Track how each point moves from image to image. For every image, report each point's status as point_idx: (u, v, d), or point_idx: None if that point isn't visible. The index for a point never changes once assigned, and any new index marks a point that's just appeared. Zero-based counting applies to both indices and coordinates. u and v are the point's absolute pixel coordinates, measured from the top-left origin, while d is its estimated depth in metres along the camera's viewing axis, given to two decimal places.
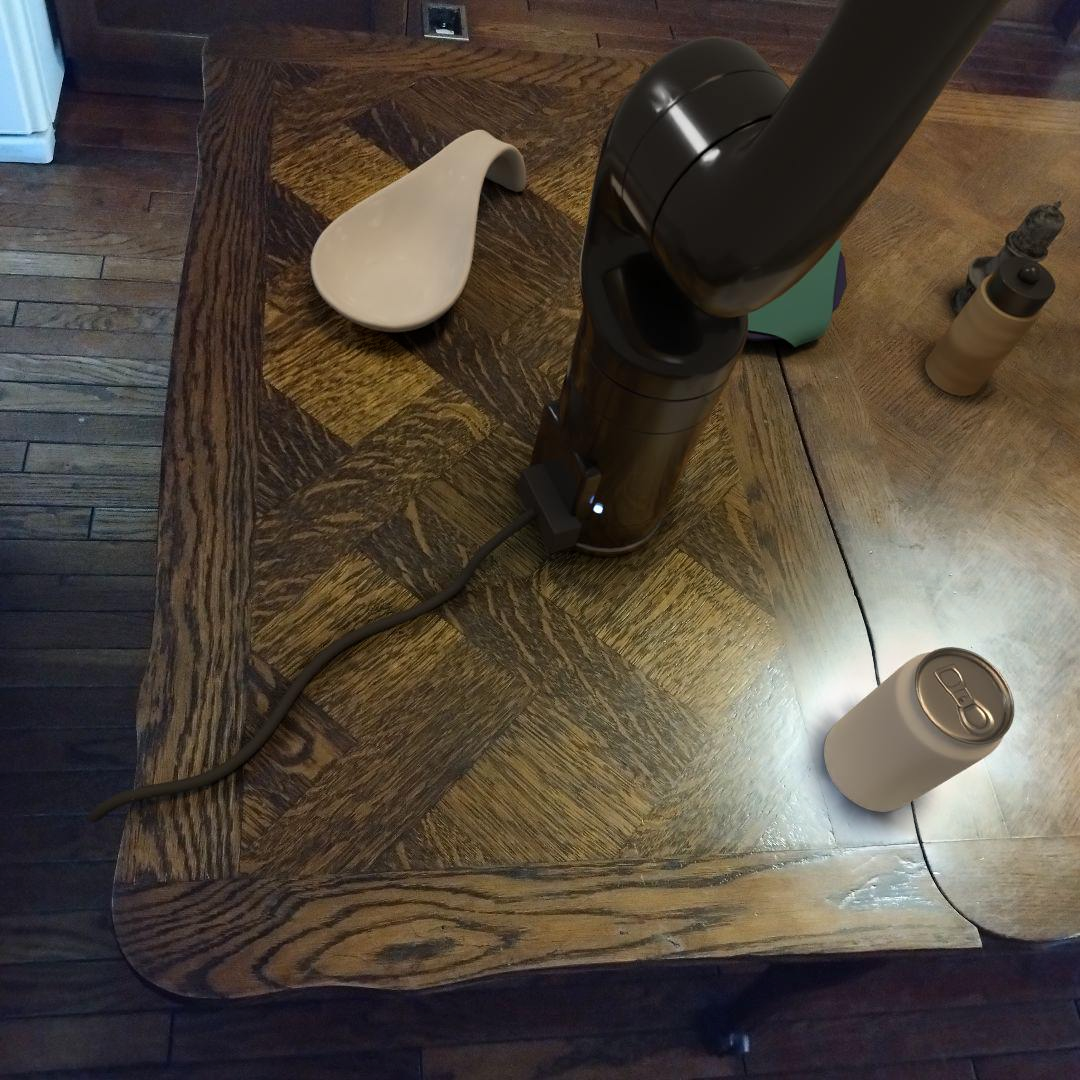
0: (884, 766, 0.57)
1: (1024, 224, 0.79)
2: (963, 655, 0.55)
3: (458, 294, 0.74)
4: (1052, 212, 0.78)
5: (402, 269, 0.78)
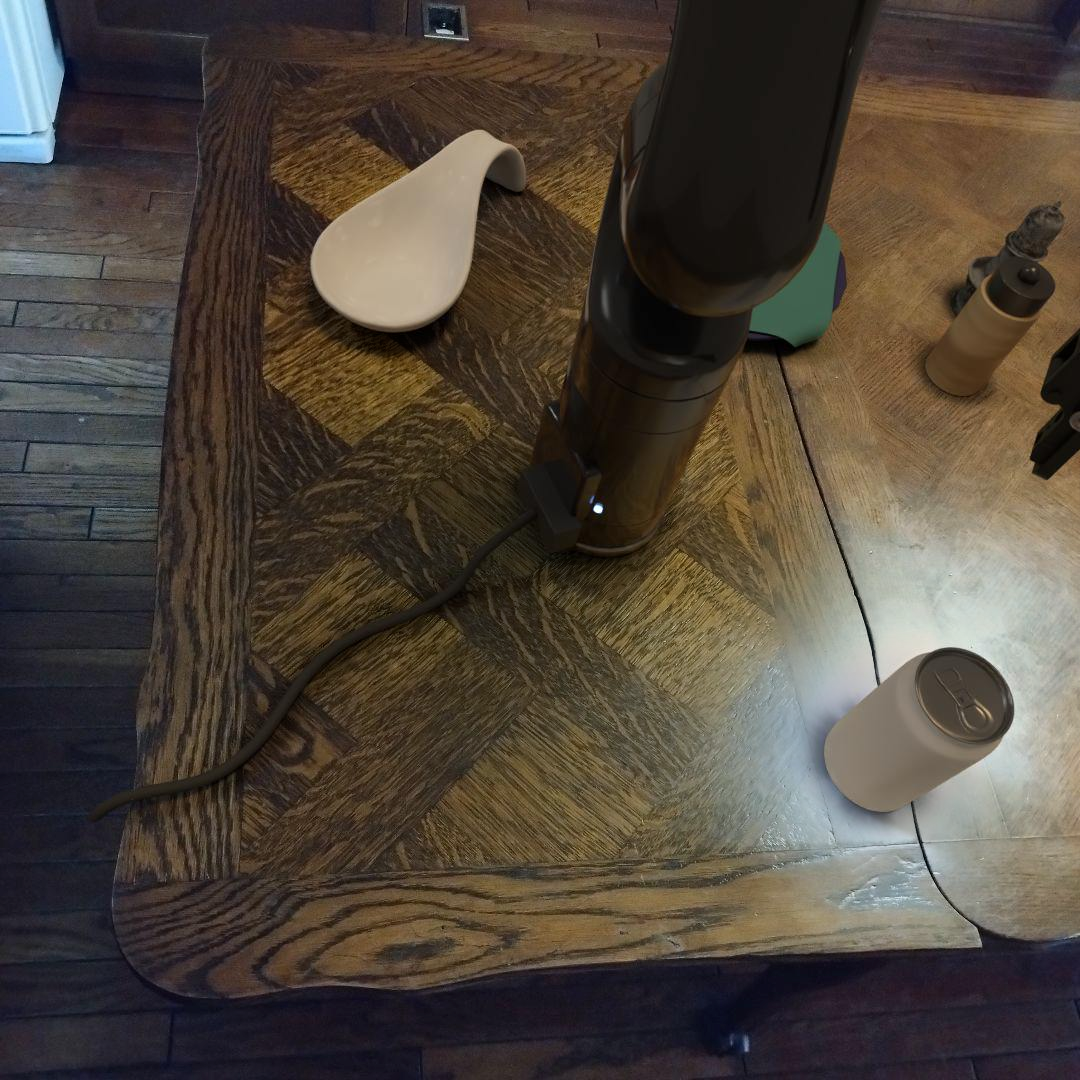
0: (884, 766, 0.57)
1: (1024, 224, 0.79)
2: (963, 655, 0.55)
3: (458, 294, 0.74)
4: (1052, 212, 0.78)
5: (402, 269, 0.78)
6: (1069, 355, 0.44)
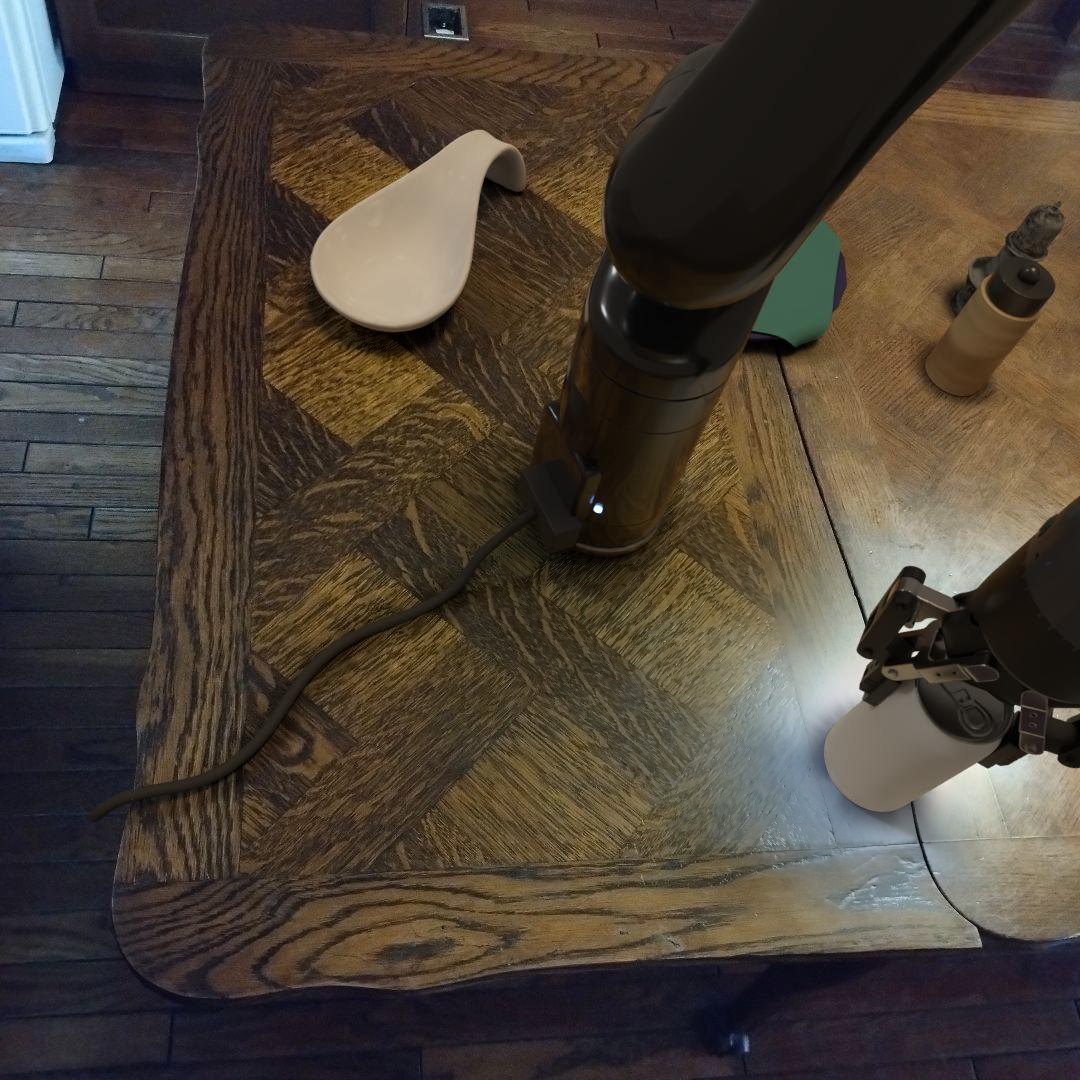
0: (884, 766, 0.57)
1: (1024, 224, 0.79)
2: None
3: (458, 294, 0.74)
4: (1052, 212, 0.78)
5: (402, 269, 0.78)
6: None
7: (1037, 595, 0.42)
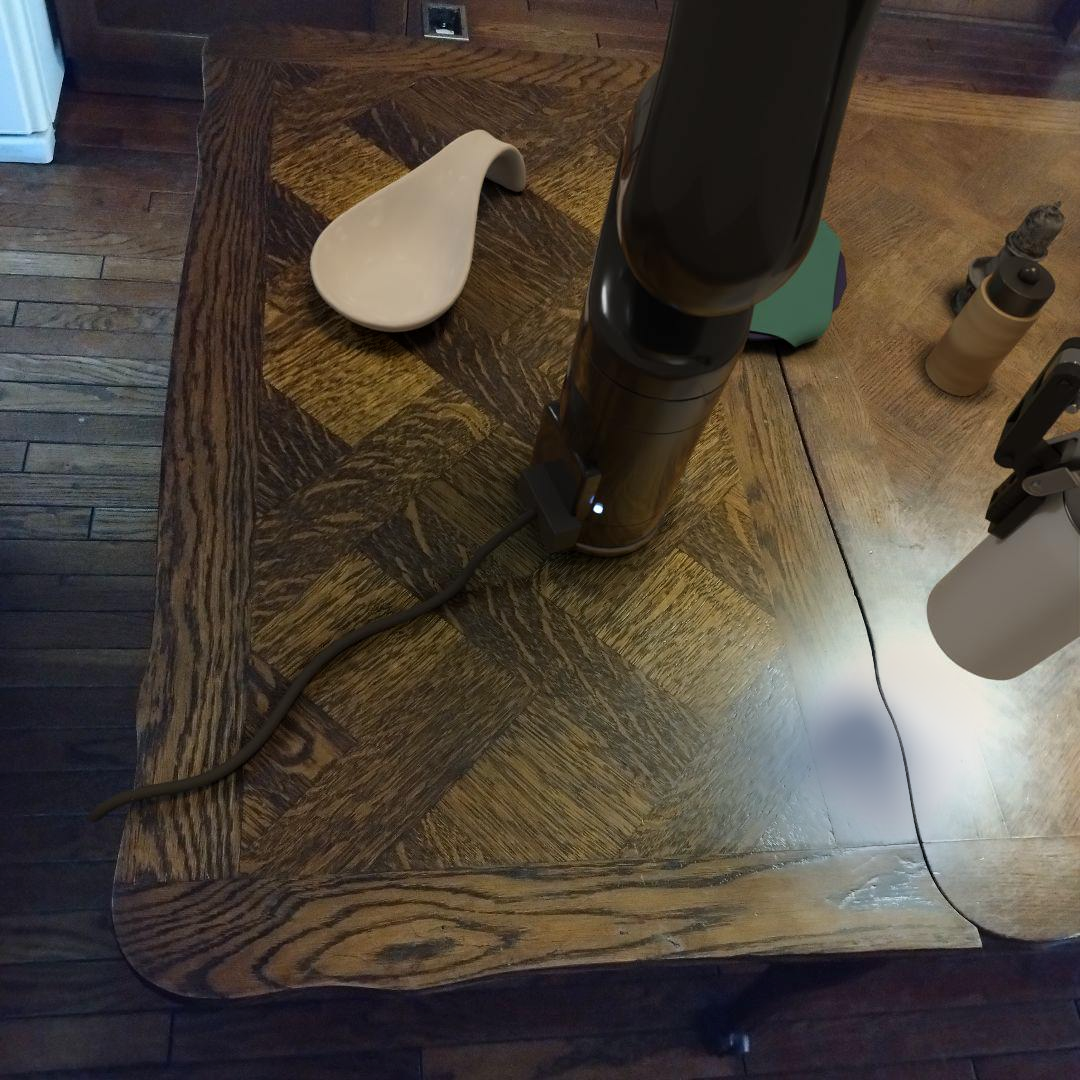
0: (1013, 611, 0.47)
1: (1024, 224, 0.79)
2: None
3: (458, 294, 0.74)
4: (1052, 212, 0.78)
5: (402, 269, 0.78)
6: None
7: None
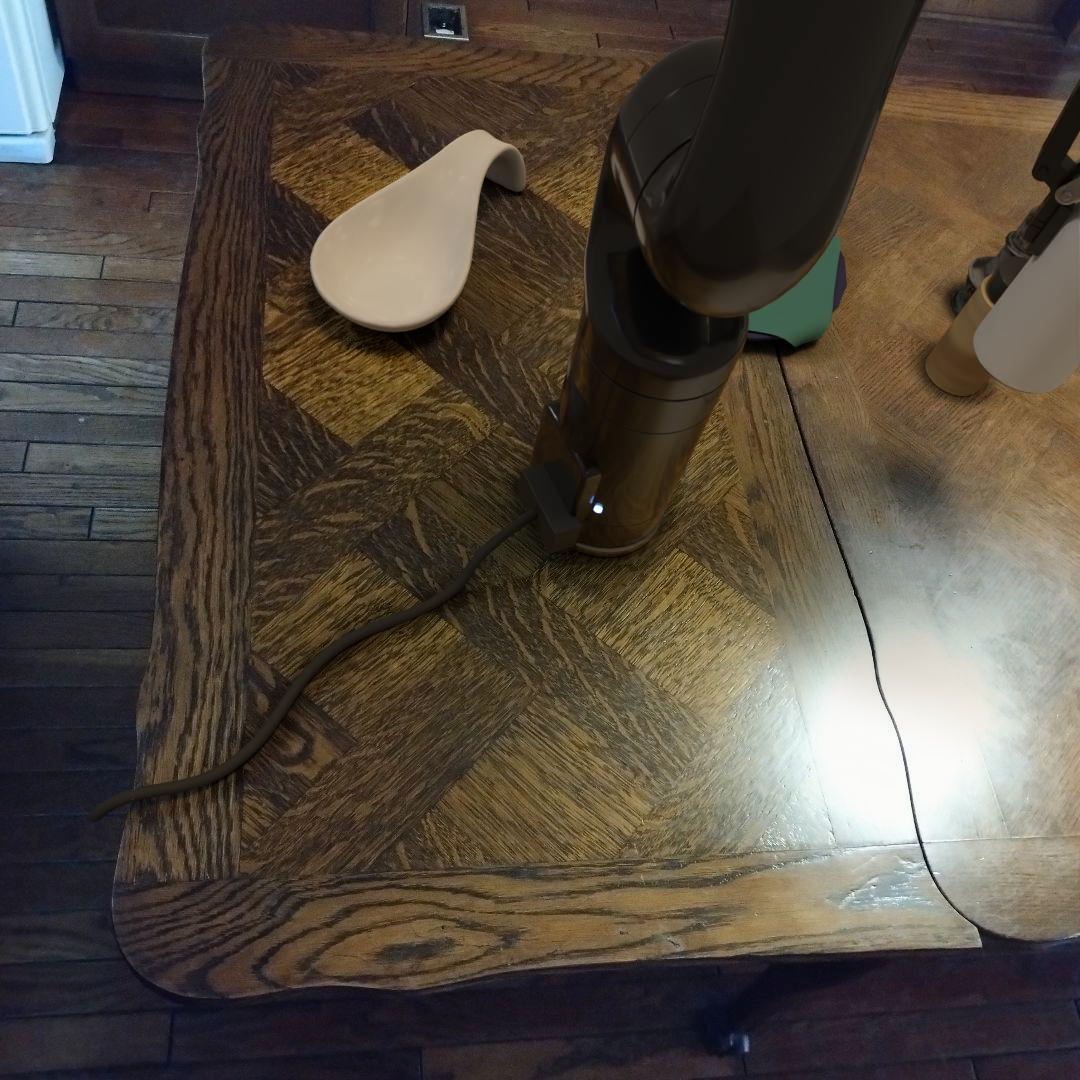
0: (1047, 314, 0.58)
1: (1024, 224, 0.79)
2: None
3: (457, 294, 0.74)
4: None
5: (402, 269, 0.78)
6: None
7: None
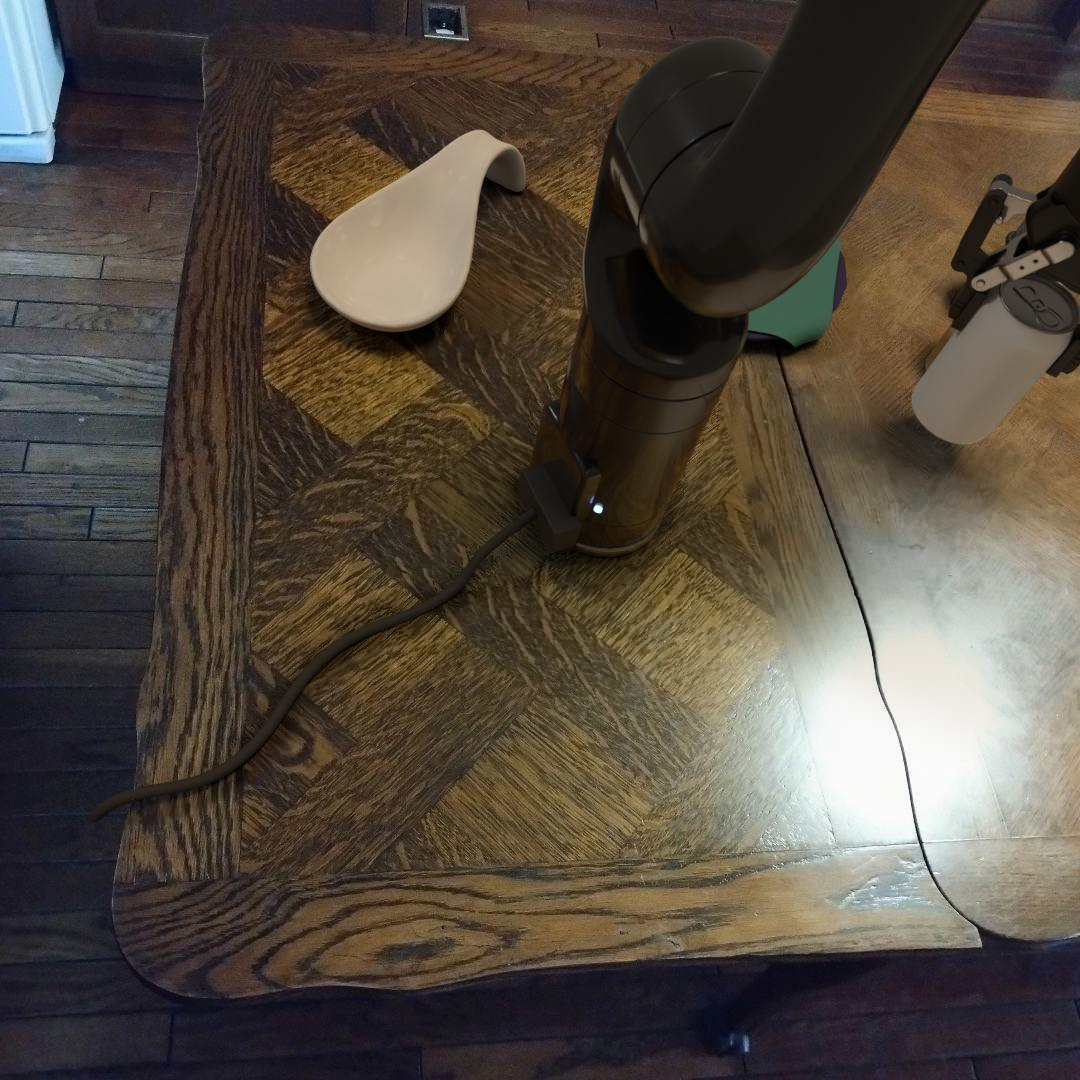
0: (969, 381, 0.68)
1: (1024, 224, 0.79)
2: (1037, 279, 0.66)
3: (457, 294, 0.74)
4: None
5: (402, 269, 0.78)
6: None
7: None
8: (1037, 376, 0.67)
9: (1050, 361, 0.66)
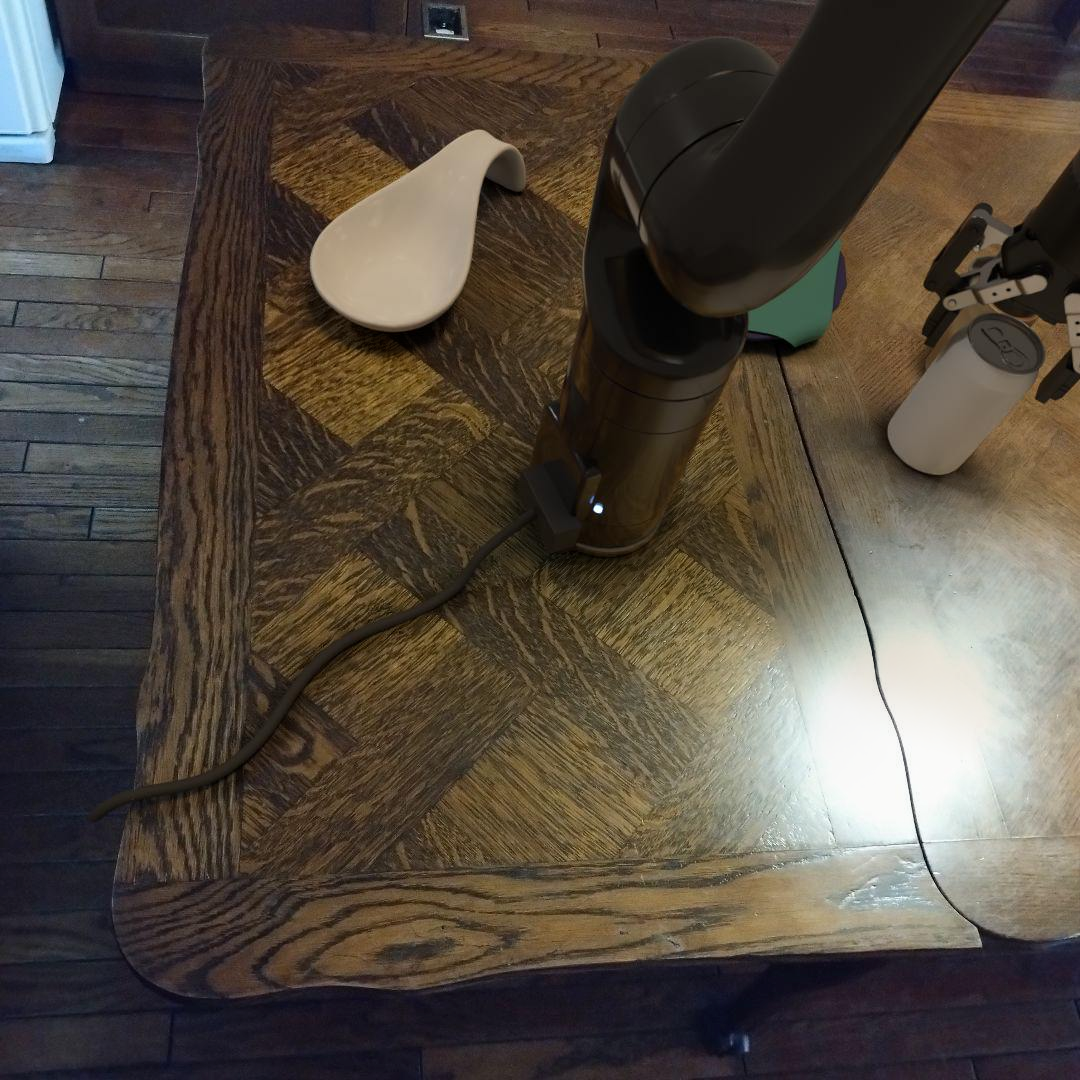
0: (940, 416, 0.72)
1: None
2: (1004, 320, 0.70)
3: (457, 294, 0.74)
4: None
5: (401, 269, 0.78)
6: None
7: None
8: (1005, 412, 0.70)
9: (1016, 398, 0.69)
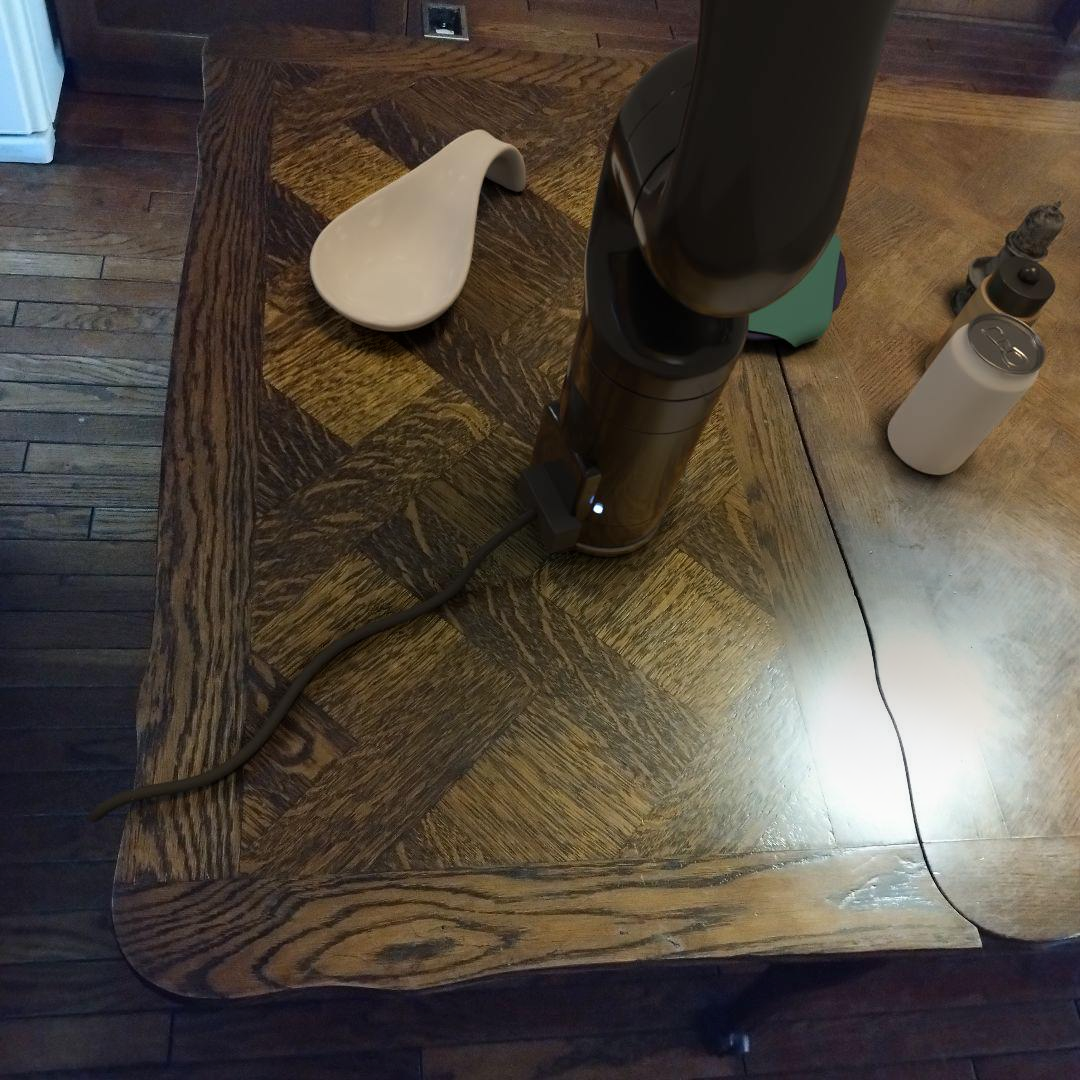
0: (940, 416, 0.72)
1: (1024, 224, 0.79)
2: (1004, 320, 0.70)
3: (457, 294, 0.74)
4: (1052, 212, 0.78)
5: (401, 269, 0.78)
6: None
7: None
8: (1005, 412, 0.70)
9: (1016, 398, 0.69)
